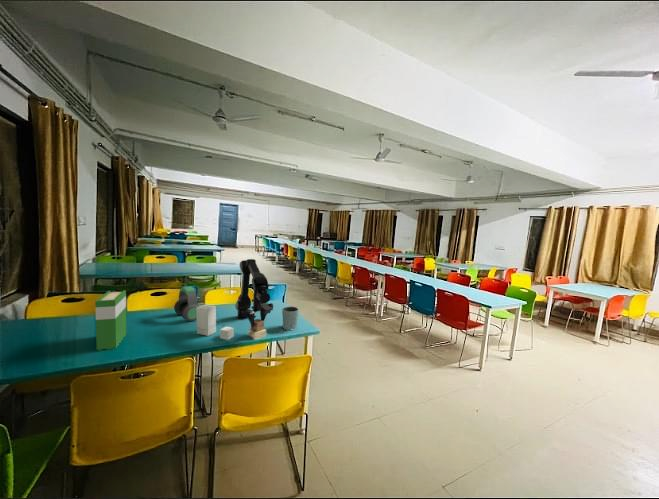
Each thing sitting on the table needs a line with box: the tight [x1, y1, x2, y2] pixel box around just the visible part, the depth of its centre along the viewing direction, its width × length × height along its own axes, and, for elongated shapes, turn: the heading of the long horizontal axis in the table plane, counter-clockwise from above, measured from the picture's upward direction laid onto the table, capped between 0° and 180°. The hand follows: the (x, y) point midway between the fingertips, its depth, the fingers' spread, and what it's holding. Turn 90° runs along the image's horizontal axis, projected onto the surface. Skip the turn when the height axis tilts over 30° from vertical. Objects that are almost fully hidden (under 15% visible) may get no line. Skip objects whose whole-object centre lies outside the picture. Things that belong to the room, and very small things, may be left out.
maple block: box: [248, 327, 267, 340], centre depth 153 cm, size 7×7×4 cm
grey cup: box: [281, 306, 299, 331], centre depth 167 cm, size 10×10×12 cm
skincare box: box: [196, 304, 217, 337], centre depth 152 cm, size 8×7×16 cm
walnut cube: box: [250, 318, 265, 332], centre depth 153 cm, size 5×5×5 cm
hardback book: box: [94, 289, 127, 351], centre depth 135 cm, size 18×7×24 cm, turn 24°
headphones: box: [173, 286, 200, 322], centre depth 172 cm, size 19×11×20 cm, turn 48°
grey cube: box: [219, 326, 235, 341], centre depth 149 cm, size 5×5×5 cm
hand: (257, 324), depth 153 cm, fingers open, 7 cm apart
